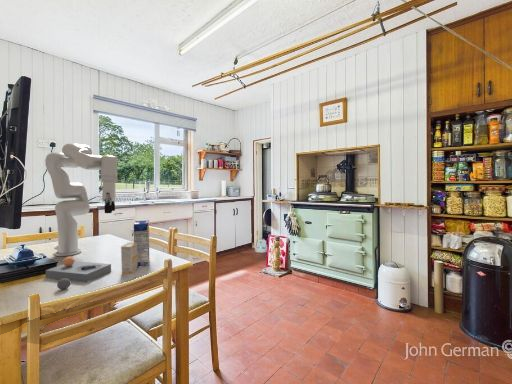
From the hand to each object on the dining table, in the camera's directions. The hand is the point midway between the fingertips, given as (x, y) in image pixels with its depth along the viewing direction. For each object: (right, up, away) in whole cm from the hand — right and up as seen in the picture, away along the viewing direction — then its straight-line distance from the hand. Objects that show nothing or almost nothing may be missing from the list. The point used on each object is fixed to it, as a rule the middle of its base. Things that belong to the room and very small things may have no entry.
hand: (110, 211), depth 139 cm
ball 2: (-1, -27, -33) cm, 42 cm away
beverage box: (+17, -28, +1) cm, 32 cm away
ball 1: (-11, -22, -15) cm, 29 cm away
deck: (-5, -28, -16) cm, 33 cm away
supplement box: (+15, -28, -10) cm, 34 cm away
